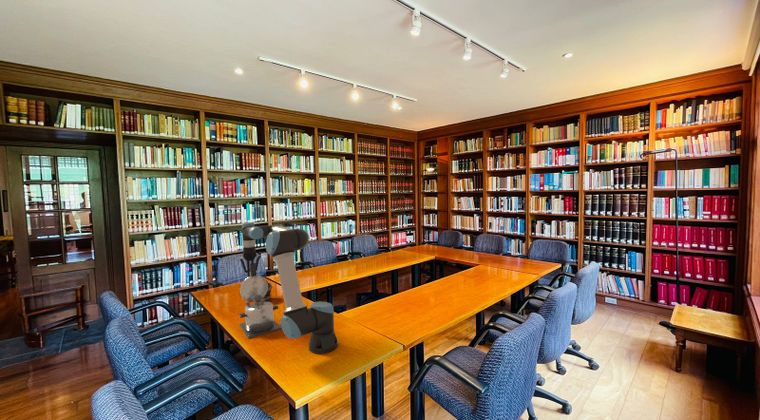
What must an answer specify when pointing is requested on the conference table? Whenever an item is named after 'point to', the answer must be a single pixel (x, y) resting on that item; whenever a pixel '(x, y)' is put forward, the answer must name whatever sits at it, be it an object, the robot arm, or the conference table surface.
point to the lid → (253, 286)
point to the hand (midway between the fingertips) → (251, 282)
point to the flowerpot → (267, 293)
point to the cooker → (259, 319)
